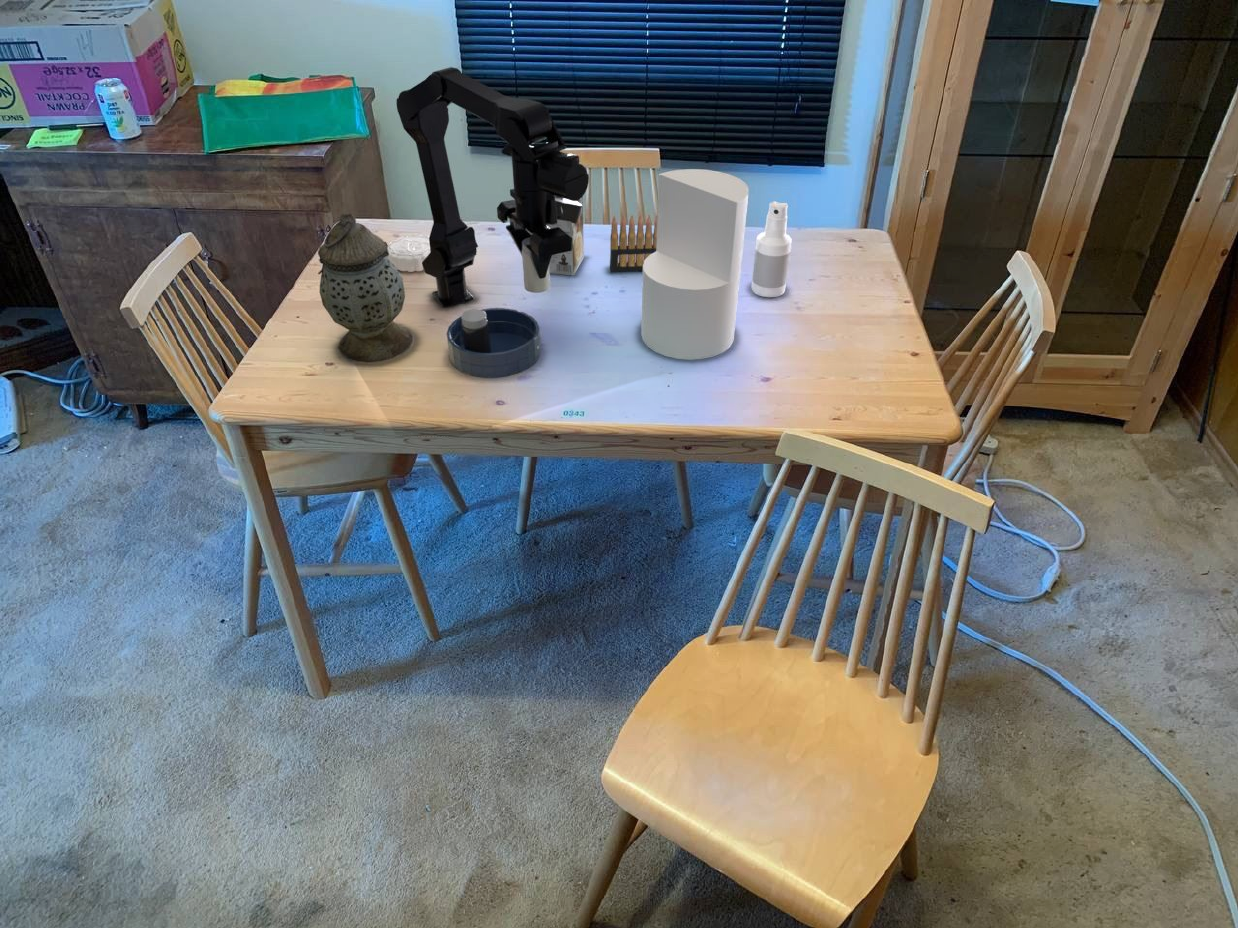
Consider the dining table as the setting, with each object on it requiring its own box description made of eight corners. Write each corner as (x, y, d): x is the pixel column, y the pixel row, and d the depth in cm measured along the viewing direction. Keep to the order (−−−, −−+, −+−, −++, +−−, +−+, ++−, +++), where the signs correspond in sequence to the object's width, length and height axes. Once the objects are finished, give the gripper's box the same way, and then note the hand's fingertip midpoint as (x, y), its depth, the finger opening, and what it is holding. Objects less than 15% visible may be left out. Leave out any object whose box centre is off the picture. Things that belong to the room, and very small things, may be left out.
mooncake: (376, 268, 179) (373, 252, 177) (403, 245, 188) (401, 229, 186) (427, 275, 177) (425, 259, 174) (453, 252, 186) (451, 236, 183)
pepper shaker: (462, 354, 152) (456, 312, 147) (485, 348, 154) (481, 306, 148) (471, 366, 149) (466, 324, 143) (495, 360, 151) (491, 317, 145)
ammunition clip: (659, 267, 180) (661, 212, 173) (660, 271, 179) (662, 216, 171) (609, 268, 179) (609, 214, 172) (610, 272, 178) (610, 217, 170)
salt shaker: (520, 284, 152) (516, 239, 147) (543, 278, 154) (541, 234, 148) (530, 295, 149) (527, 249, 144) (554, 289, 151) (552, 244, 145)
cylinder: (684, 303, 168) (692, 161, 150) (753, 335, 158) (770, 188, 141) (622, 334, 158) (623, 187, 141) (691, 370, 149) (701, 217, 131)
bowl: (437, 345, 155) (433, 321, 152) (518, 324, 161) (516, 300, 158) (470, 389, 144) (467, 364, 141) (555, 364, 150) (554, 339, 147)
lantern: (390, 370, 148) (363, 235, 133) (319, 358, 152) (284, 224, 136) (427, 331, 159) (406, 202, 143) (360, 320, 162) (332, 192, 146)
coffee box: (556, 254, 185) (552, 182, 174) (584, 257, 184) (583, 184, 173) (545, 273, 178) (540, 199, 167) (574, 276, 177) (572, 201, 166)
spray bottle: (747, 294, 171) (756, 208, 159) (755, 280, 176) (765, 195, 164) (780, 300, 169) (792, 213, 157) (788, 285, 174) (800, 200, 162)
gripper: (600, 196, 136) (601, 284, 146) (551, 159, 149) (555, 243, 159) (537, 208, 132) (542, 298, 142) (492, 170, 145) (500, 255, 155)
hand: (536, 272), depth 150 cm, fingers closed on salt shaker, 4 cm apart
